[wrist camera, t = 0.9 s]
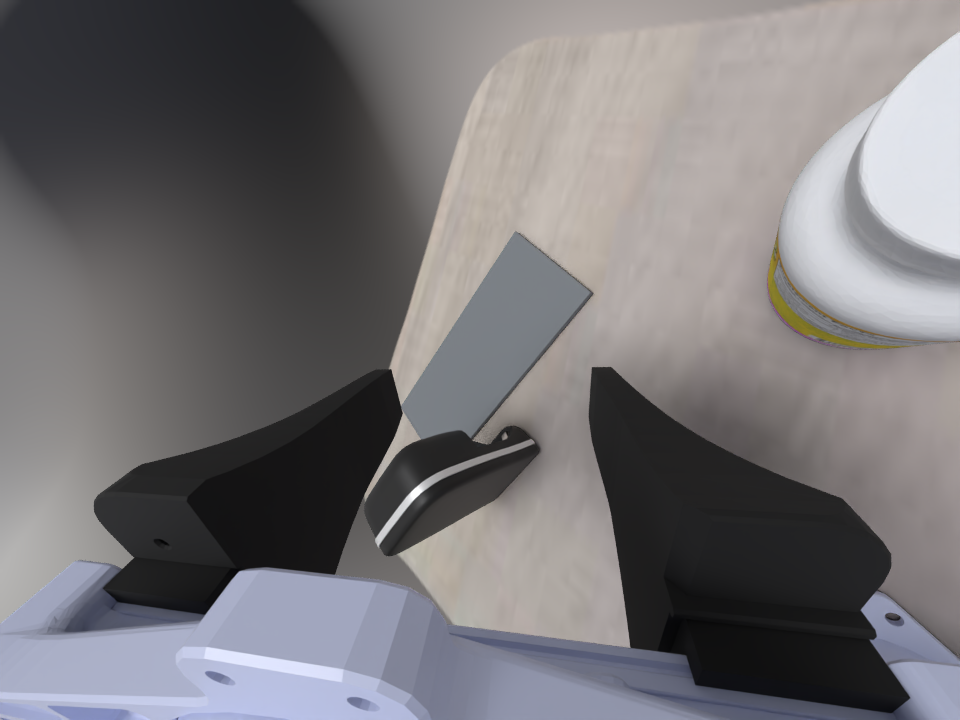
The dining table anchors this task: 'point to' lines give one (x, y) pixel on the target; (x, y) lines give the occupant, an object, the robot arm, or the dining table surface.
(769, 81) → the dining table surface
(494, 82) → the dining table surface
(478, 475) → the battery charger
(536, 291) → the mat
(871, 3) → the dining table surface
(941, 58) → the supplement bottle
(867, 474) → the dining table surface
